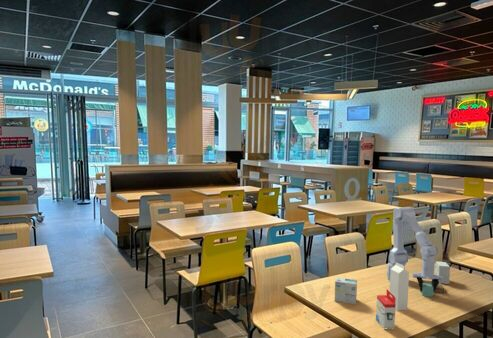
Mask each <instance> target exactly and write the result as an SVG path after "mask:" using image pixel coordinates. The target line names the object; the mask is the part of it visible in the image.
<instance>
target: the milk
mask: <svg viewBox="0 0 493 338" xmlns="http://www.w3.org/2000/svg"><path fill="white" fill-rule="evenodd" d="M409 279H410V272H409V270H407V269H404V266H403V265H401V264H399V263H397V262H396V265H395V266H393V267H392V268H391V270H390V280H389V291H390V292H391V293H392V294H393V295H394V296H395V298H396V301H395V304H396V305H395V311H405V310H408V302H409V300H408V299H409V298H408V297H409V283H410V282H409V281H410V280H409ZM390 296H391V295H390ZM391 297H392V296H391Z"/></svg>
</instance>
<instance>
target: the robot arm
mask: <svg viewBox="0 0 493 338" xmlns="http://www.w3.org/2000/svg"><path fill="white" fill-rule="evenodd" d="M392 212H393V213H392V214H393V216H392V227H393V228H392V229H393V233H392V234H393V247H392V249H390V250H389V254H388V261H389V262H388V263H387V265H386V266H387V269H386V276H387V279H388V280H389V281H390V270H391V268H392V267H393V266H395V265H396V262H397V263H399V264H401V265H403V266H404V269H405V268H406V267H405V266H406V265H407V263H408V262H409V256H408V251H407V250H406V249H405V247H404V243H405V242H404V222H407V223H408V224H409V225H410V227H411V229H412V230H413V232H414V233H415V235H414V238H415V240H416V241H417V243H418V245H419V247H420V249H419V251H420V254H421V258H422V261H421V265H422V266H421V272H416V273H415V272H412V275H411V276H412V278H413V279H415V278H416V280H417V282H418V286H419V291H420V293H421V292H422V285H423V280H424V279H425V280H426V279H427V280H431V281H432V286H433V294H434V293H435V292H434V291H435V288H436V287H437V285H438V284H439V280H441V281H443V276H438V275H435V264H436V261H435V259H436V256H437V255H438V254H439V253H438V252H439V250H438V248H437V246H436V245H435V244H433V242H431V240H430V239H429V237H428V234H427V233H426V232H425V231H422V229H421V225H419V222H418V219H417V218H416V211H415V210H414V208H413V207H412V206H406V207H405V206H404V207H398V206H397V207H395V209H393V210H392ZM405 270H406V269H405Z"/></svg>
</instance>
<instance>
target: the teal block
mask: <svg viewBox="0 0 493 338" xmlns="http://www.w3.org/2000/svg"><path fill="white" fill-rule="evenodd" d="M420 293H421V296H423V297H429V298H434V293H433V286H432V285H431V284H426V283H423V285H422V292H421V291H420Z"/></svg>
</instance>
